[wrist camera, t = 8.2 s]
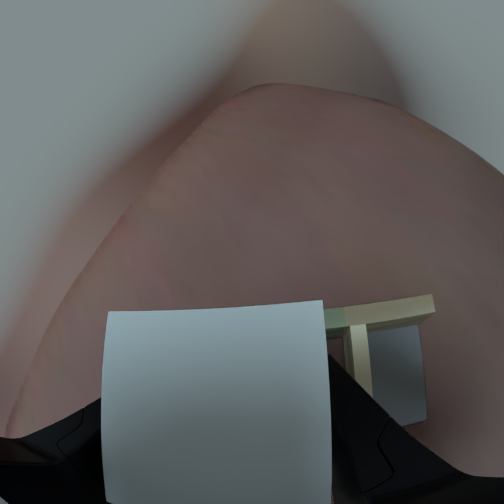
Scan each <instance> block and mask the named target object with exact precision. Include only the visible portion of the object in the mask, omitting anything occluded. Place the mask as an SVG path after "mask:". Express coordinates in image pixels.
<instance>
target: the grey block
mask: <svg viewBox="0 0 504 504" xmlns="http://www.w3.org/2000/svg"><path fill="white" fill-rule="evenodd" d="M101 441H102V461H103V474H104V484H105V493H106V501H107V502H109V503H112V504H331V485H332V442H331V408H330V387H329V371H328V357H327V344H326V333H325V322H324V312H323V302H322V300H317V301H307V302H297V303H286V304H274V305H262V306H248V307H233V308H216V309H196V310H171V311H117V312H108V318H107V327H106V336H105V346H104V357H103V371H102V392H101Z"/></svg>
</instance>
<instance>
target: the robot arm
mask: <svg viewBox="0 0 504 504" xmlns="http://www.w3.org/2000/svg"><path fill="white" fill-rule="evenodd" d="M327 357H328V371H329V387H330V408H331V442H332V485H331V487H332V492H333V498H334V504H504V478H501V477H480V476H473V475H469V474H466V473H463V472H461V471H459V470H457V469H456V468H454V467H453V466H451V465H450V464H448V463H447V462H446V461H444V460H443V459H441V458H440V457H439V456H437V455H436V454H434V453H433V452H432V451H430V450H429V449H428V448H426V447H425V446H424V445H422V444H421V443H420V442H418V441H417V440H416V439H415V438H413V437H412V436H411V435H410V434H409V433H408V432H407V431H405V430H404V429H403V428H402V427H401V426H400V425H399V424H398V423H397V422H396V421H395V420H394V419H393V418H392V417H390V415H389V414H388V413H387V412H386V411H385V410H384V409H383V408H382V407H381V406H380V405H379V404H378V403H377V402H376V401H375V400H374V399H373V398H372V397H371V396H370V395H369V394H368V393H367V392H366V391H365V390H364V388H363V387H362V386H361V385H360V384H359V383H358V382H357V381H356V380H355V379H354V378H353V377H352V376H351V375H350V374H349V373H348V372H347V371H346V370H345V369H344V368H343V367H342V366H341V365H340V364H339V363H338V362H337V361H336V360H335V359H334V358H333V357H332V355H330V354H327ZM0 504H112V503H109V502H107V501H106V493H105V484H104V474H103V461H102V441H101V398H99V399H97V400H96V401H94V402H92V403H91V404H89V405H87V406H86V407H85V408H82V409H80V410H79V411H77V412H75V413H74V414H72V415H70V416H68V417H66V418H64V419H62V420H60V421H58V422H56V423H54V424H52V425H50V426H48V427H45V428H43V429H41V430H39V431H36V432H34V433H32V434H30V435H27V436H25V437H21V438H15V439H11V438H4V437H0Z"/></svg>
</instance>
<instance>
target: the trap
mask: <svg viewBox="0 0 504 504" xmlns="http://www.w3.org/2000/svg"><path fill="white" fill-rule="evenodd" d="M323 312H324V322H325V333H326V339H331V338H339V337H343V344H344V355H345V367H346V371H347V372H348V373H349V374H350V375H351V376H352V377H353V378H354V379H355V380H356V381H357V382H358V383H359V384H360V385H361V386H362V387H363V388H364V390H365V391H366V392H367V393H368V394H369V395H370V396H371V397H372V398H373V399H374V400H375V401H376V402H377V403H378V404H379V405H380V406H381V407H382V408H383V409H384V410H385V411H386V412H387V413H388V414H389V415H390V417H392V418H393V419H394V420H395V421H396V422H397V423H398V424H399V425H400V426H405V425H409V424H413V423H416V422H420V421H424V420H427V406H426V390H425V378H424V367H423V358H422V350H421V343H420V336H419V330H418V324H419V323H421V322H422V321H423V320H425V319H426V318H428V317H429V316H430V315H432V314H433V313H434V312H435V307H434V302H433V298H432V294H428V295H423V296H417V297H411V298H405V299H398V300H392V301H385V302H378V303H371V304H364V305H356V306H348V307H340V308H331V309H323Z"/></svg>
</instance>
